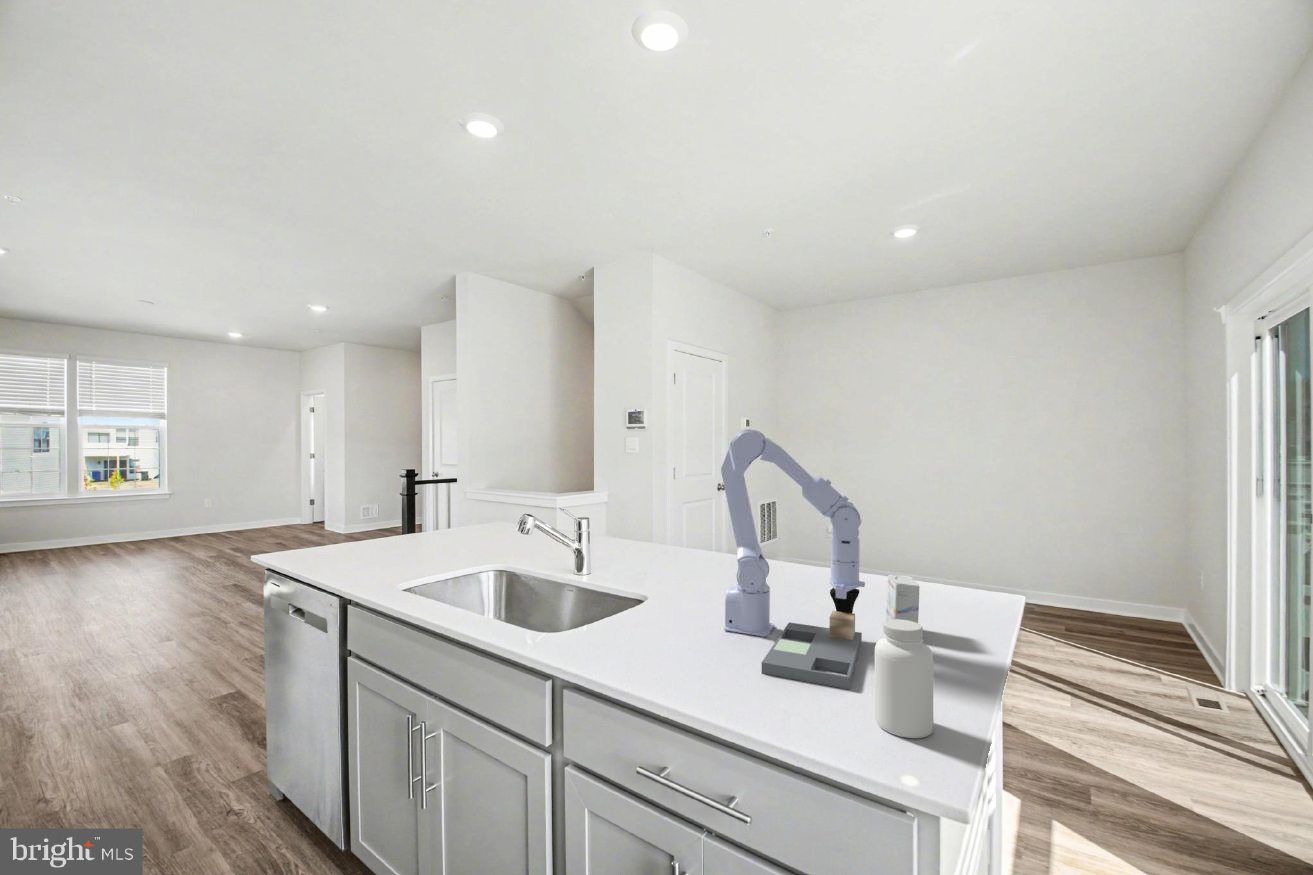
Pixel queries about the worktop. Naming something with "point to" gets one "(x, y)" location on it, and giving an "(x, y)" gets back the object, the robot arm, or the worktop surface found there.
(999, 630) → the worktop surface
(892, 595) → the ink box
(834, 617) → the block
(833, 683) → the board
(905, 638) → the pill bottle
